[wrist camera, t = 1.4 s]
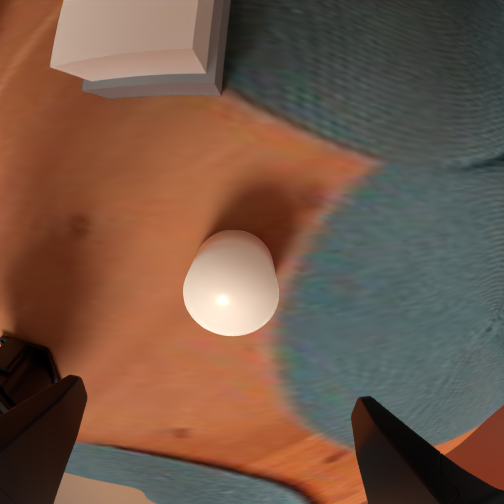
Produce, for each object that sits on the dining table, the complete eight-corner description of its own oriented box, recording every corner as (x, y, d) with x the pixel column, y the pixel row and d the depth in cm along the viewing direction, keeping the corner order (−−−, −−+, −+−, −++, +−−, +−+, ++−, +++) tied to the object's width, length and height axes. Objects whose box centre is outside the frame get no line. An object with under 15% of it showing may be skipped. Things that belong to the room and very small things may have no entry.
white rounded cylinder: (269, 304, 21) (273, 338, 17) (194, 299, 21) (184, 332, 17) (277, 232, 19) (284, 253, 16) (195, 226, 19) (182, 246, 15)
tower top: (206, 73, 13) (192, 48, 9) (91, 81, 13) (50, 67, 9) (217, -26, 11) (210, -68, 7) (108, -14, 11) (78, -44, 7)
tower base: (221, 96, 17) (214, 83, 13) (111, 99, 17) (81, 90, 13) (231, -2, 15) (228, -32, 11) (125, 5, 14) (102, -19, 10)
